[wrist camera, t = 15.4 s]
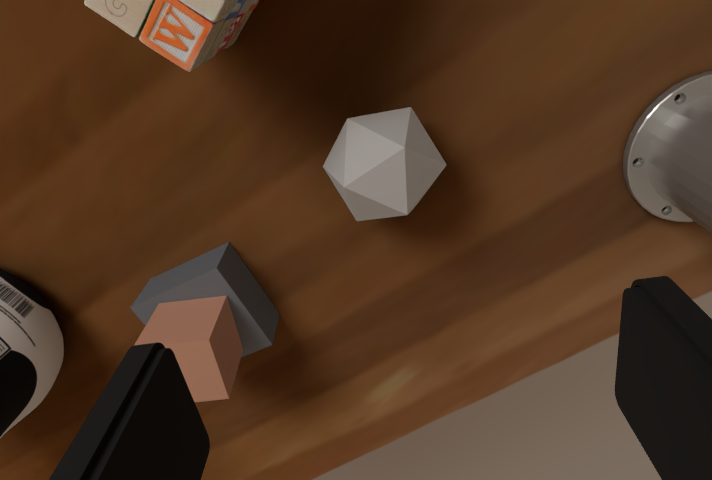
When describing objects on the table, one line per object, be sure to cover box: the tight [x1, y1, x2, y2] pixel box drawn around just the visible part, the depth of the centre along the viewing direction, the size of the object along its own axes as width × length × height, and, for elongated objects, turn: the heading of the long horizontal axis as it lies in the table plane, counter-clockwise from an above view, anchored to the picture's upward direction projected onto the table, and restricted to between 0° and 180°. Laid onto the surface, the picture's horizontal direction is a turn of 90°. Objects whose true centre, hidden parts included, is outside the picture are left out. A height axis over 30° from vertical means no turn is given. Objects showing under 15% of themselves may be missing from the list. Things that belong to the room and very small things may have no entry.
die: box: [323, 107, 447, 221], centre depth 40 cm, size 8×9×10 cm
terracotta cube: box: [135, 295, 243, 402], centre depth 43 cm, size 6×6×6 cm
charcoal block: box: [131, 242, 280, 358], centre depth 48 cm, size 9×9×5 cm
